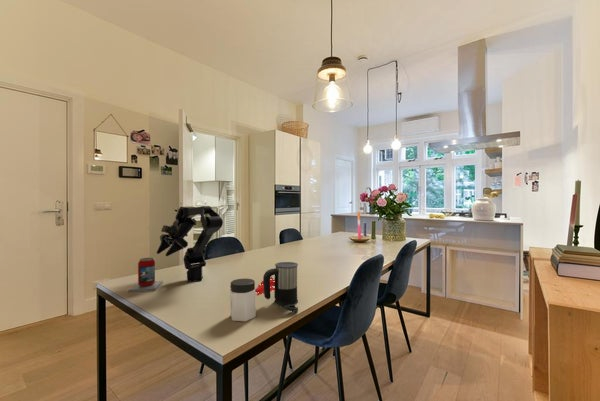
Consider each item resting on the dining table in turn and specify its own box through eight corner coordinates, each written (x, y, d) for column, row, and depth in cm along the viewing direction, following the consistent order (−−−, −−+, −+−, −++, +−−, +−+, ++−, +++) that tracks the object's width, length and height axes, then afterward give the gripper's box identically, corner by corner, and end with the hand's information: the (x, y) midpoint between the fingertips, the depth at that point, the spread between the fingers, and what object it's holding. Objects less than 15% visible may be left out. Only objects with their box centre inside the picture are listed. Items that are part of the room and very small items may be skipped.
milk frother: (287, 296, 117) (287, 260, 117) (315, 306, 106) (315, 267, 106) (259, 305, 107) (259, 266, 107) (286, 318, 96) (286, 274, 96)
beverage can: (143, 288, 125) (142, 261, 125) (135, 285, 129) (135, 259, 129) (157, 284, 131) (157, 258, 130) (150, 281, 134) (149, 256, 134)
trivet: (162, 282, 136) (162, 280, 136) (155, 290, 125) (155, 288, 125) (138, 284, 134) (137, 282, 134) (128, 292, 123) (128, 289, 123)
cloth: (268, 298, 116) (268, 293, 116) (239, 295, 121) (239, 289, 121) (291, 281, 140) (291, 276, 140) (266, 278, 145) (266, 274, 145)
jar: (245, 309, 103) (245, 276, 103) (260, 315, 98) (260, 280, 98) (224, 317, 97) (224, 282, 96) (239, 324, 91) (239, 287, 91)
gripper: (163, 218, 146) (140, 242, 138) (181, 220, 134) (158, 246, 126) (178, 232, 152) (157, 255, 144) (197, 234, 140) (175, 261, 132)
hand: (161, 254), depth 136 cm, fingers open, 9 cm apart
